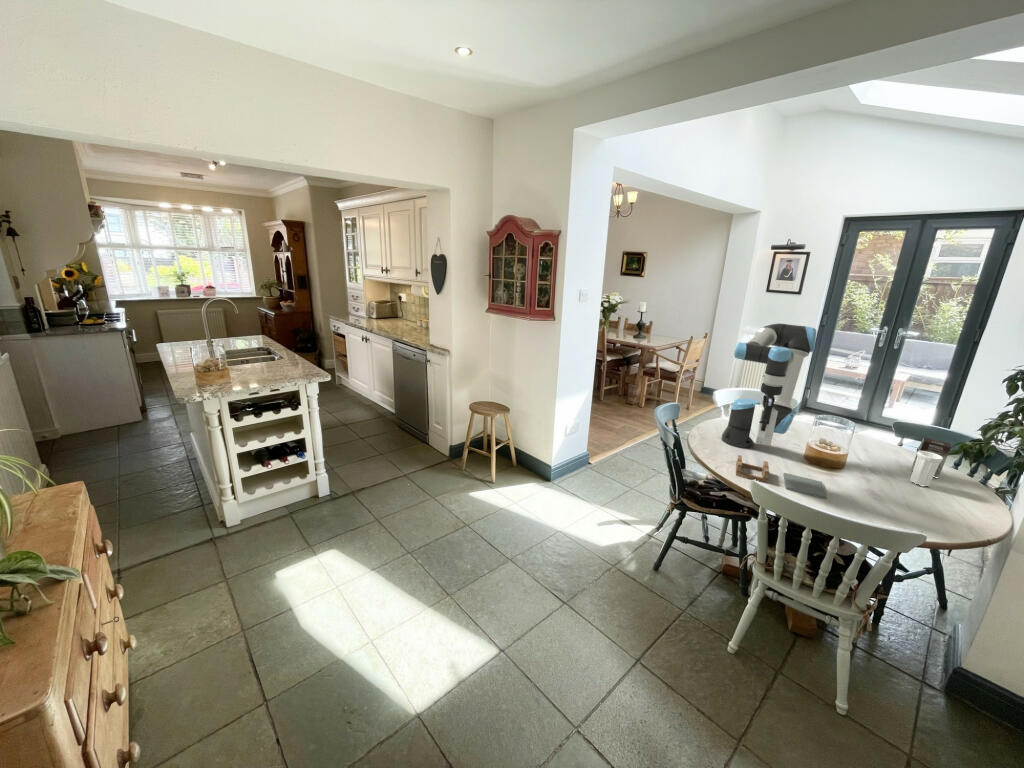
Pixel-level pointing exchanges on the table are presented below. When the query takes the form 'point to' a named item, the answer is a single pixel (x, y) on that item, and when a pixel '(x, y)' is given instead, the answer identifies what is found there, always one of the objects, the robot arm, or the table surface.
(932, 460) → the cup
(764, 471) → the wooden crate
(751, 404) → the robot arm
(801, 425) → the table surface
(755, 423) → the skincare box
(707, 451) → the table surface
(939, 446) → the coffee box
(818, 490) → the plate
